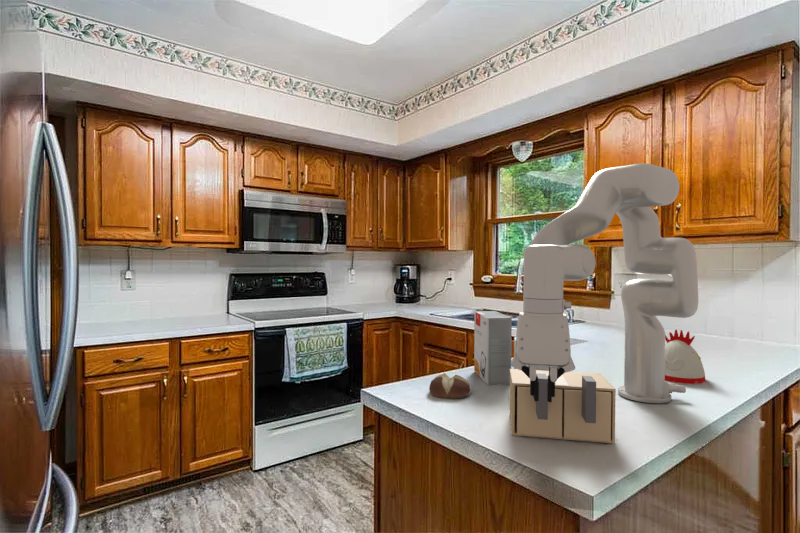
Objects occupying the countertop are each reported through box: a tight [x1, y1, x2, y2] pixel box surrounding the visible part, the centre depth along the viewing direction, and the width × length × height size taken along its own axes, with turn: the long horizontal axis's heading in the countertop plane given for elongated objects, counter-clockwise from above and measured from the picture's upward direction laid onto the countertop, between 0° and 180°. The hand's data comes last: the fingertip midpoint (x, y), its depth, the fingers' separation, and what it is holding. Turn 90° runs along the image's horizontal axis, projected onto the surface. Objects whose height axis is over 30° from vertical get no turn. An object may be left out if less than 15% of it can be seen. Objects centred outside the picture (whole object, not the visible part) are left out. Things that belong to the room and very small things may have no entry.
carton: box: [509, 368, 617, 444], centre depth 95 cm, size 20×12×11 cm, turn 78°
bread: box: [428, 372, 471, 400], centre depth 120 cm, size 11×11×5 cm
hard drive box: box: [473, 310, 513, 386], centre depth 135 cm, size 16×8×20 cm, turn 5°
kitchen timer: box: [665, 329, 706, 385], centre depth 137 cm, size 14×14×15 cm
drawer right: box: [564, 376, 611, 442], centre depth 86 cm, size 9×4×13 cm, turn 78°
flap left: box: [517, 373, 562, 438], centre depth 88 cm, size 9×4×13 cm, turn 78°
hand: (542, 399), depth 87 cm, fingers closed on flap left, 2 cm apart
